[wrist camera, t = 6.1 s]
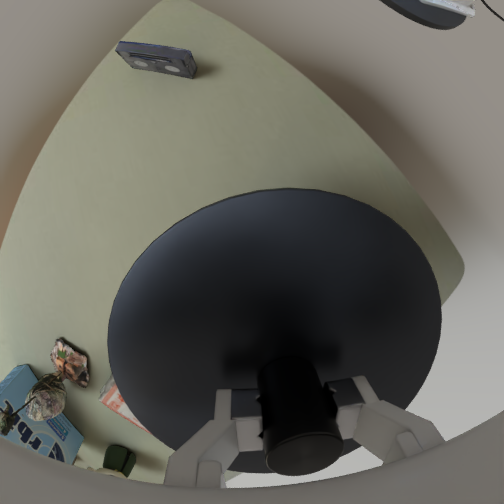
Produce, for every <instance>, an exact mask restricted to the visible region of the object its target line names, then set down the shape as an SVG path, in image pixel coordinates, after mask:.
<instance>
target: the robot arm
mask: <svg viewBox="0 0 504 504" xmlns="http://www.w3.org/2000/svg"><path fill="white" fill-rule="evenodd" d="M419 1H420V2H422V3H424V4H428V5H431V6H435V7H439V8H442V9H446V10H449V11H452V12H455V13H458V14H461V15H464V16H467V17H470V18H472V17H474V15H475V8H474V4H473V2H474V1H475V0H419ZM481 1H482V2H483V4H484V5H485V6H486V7H487V8H488V9H489V10H490V11H491V12H493V13H494V14H495V15H496V16H497V17H499V18H500V19H501V20H503V21H504V19H503V18H502V17H501V16H499V15H498V14H497V13H496V12H495V11H493V10H492V9H491V8H490V7H489V6H488V5H487V4H486V3H485V1H484V0H481ZM323 389H324V392H325V394H326V397H327V400H328V402H329V405H330V407H331V410H332V412H333V415H334V418H335V420H336V423H337V425H338V428H339V431H340V433H341V436H342V438H343V440H344V439H349V438H353V439H354V440H355V441H356V442H358V443H359V444H360V445H362V446H363V447H365V448H366V449H367V450H369V451H370V452H371V453H373V454H374V455H375V456H377V457H378V458H380V459H381V460H382V461H384V462H383V464H382V466H379V467H375V468H372V469H368V470H364V471H361V472H357V473H353V474H349V475H344V476H339V477H334V478H330V479H324V480H318V481H312V482H306V483H298V484H291V485H281V486H271V487H257V488H256V487H255V488H226V484H225V479H224V475H223V474H224V473H225V471H226V470H227V469H228V467H229V466H230V465H231V463H232V462H233V461H234V459H235V458H236V457H237V455H238V454H239V452H243V451H257V450H263V436H262V431H263V423H262V409H261V404H260V390H259V388H254V389H232V390H231V389H217V392H216V403H215V415H214V420H209V421H208V422H207V423H206V424H205V425H204V426H203V427H202V428H201V429H200V430H199V431H198V432H197V433H196V434H194V435H193V436H192V437H191V438H190V439H189V440H188V441H187V442H186V443H184V444H183V445H182V446H181V447H180V448H179V449H178V450H177V451H175V452H174V453H173V454H172V455H171V456H170V457H169V460H168V464H167V469H166V474H165V479H164V484H155V483H148V482H142V481H136V480H130V479H125V478H120V477H115V476H111V475H107V474H102V473H98V472H94V471H91V470H87V469H83V468H80V467H77V466H73V465H70V464H67V463H64V462H61V461H58V460H55V459H52V458H50V457H47V456H44V455H42V454H39V453H37V452H34V451H32V450H29V449H27V448H25V447H22V446H20V445H18V444H16V443H14V442H12V441H10V440H8V439H6V438H4V437H2V436H0V504H504V411H502V412H501V413H499V414H497V415H496V416H494V417H492V418H491V419H489V420H487V421H485V422H484V423H482V424H480V425H478V426H476V427H474V428H472V429H471V430H469V431H467V432H465V433H463V434H461V435H459V436H457V437H455V438H452V439H451V440H448V441H446V442H445V440H444V439H443V437H442V436H441V434H440V433H439V432H438V430H437V429H436V427H435V426H434V425H433V423H432V422H431V421H428V420H426V419H424V418H421V417H419V416H416V415H414V414H412V413H410V412H408V411H405V410H404V409H401V408H399V407H397V406H395V405H393V404H391V403H388V402H386V401H384V400H381V401H380V400H379V399H378V397H377V395H376V394H375V392H374V391H373V389H372V387H371V386H370V384H369V382H368V381H367V379H366V378H365V376H363V375H360V376H355V377H350V378H346V379H340V380H334V381H327V382H325V383H324V386H323Z"/></svg>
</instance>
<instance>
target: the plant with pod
mask: <svg viewBox="0 0 504 504" xmlns="http://www.w3.org/2000/svg"><path fill="white" fill-rule="evenodd" d="M51 352H52V353H51V355H50V356H51V357H50V358H52V359H51V360H52V362H53V363H54V367H55V370H56V373H52V374H46V375H44V376H42V377H41V379H40V380H39V381H38V382H37V383H35V385H34V386H33V387H32V389H30V390H29V392H28V393H27V397H26V400H25V405H23V406H22V407H21V408H19V409H18V410H17V411H16V412H14V413H13V414H12V415H9V412H8V410H9V404H7V409H6V411H4V412H0V434H1V435H4V436H7V434H8V433H9V431H10V429H11V428H12V426H13V424H14V422H15V417H16V416H17V413H18V412H19V411H20V410H22V409H23V408H24V407H25V408H26V415H27V416H28V418H30V419H32V420H34V421H42V420H48V419H51V418H54V417H55V416H57V415H58V414H61V412H62V411H63V409H64V407H65V402H66V395H67V393H66V390H65V386H64V384H63V383H62V381H64V379H65V377H66V378H67V379H69V380H71V381H72V382H74V383H77V384H78V385H79V386H81V387H83V388H84V387H85V388H86V387H87V386H86V384H87V382H89V379H90V378H89V375H88V373H87V372H86V371H87V370H88V369H87V367H86V365H87V364H86V362H87V361H86V360H87V358H86V357H85V356H84V354H83V356H82V354H81V353H78V352H77V351H75V354H74V349H73V350H72V348H69V345H67V344H65V343H63V341H62V339H57V341H56V344H55V346H54V348H53V350H52V351H51ZM22 415H23V414H22ZM23 417H24V415H23Z"/></svg>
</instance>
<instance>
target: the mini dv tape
mask: <svg viewBox="0 0 504 504" xmlns="http://www.w3.org/2000/svg"><path fill="white" fill-rule="evenodd" d="M115 51H116V52H117V53H118V54H119V55H120V56H121V57H122V58H123V59H124V60H125V61H126V62H127V63H128V64H129V65H130V66H131V67H132V68H135V69H142V70H148V71H154V72H160V73H165V74H171V75H176V76H181V77H185V78H190V79H193V77H194V74H195V72H196V70H197V66H196V64H195V61H194V58H193V56H192V53H191V51H189V50H185V49H180V48H174V47H168V46H161V45H153V44H145V43H136V42H125V41H120V42H119V43H118V45H117V47H116V49H115Z"/></svg>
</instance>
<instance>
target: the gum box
mask: <svg viewBox="0 0 504 504" xmlns="http://www.w3.org/2000/svg"><path fill="white" fill-rule="evenodd" d="M37 382H38V380H37V378H36V377H35V375H34V374H33V372H32V371H31V369H30V368H29V366H28V365H27V364H26V365H22V366H18V367H15V368H14V369H13V370H12V371H11V372H10V373H9V374H8V375H7V377H6V378H5V379H4V380H3V381H2V382H1V383H0V412H4V411H6V409H7V404H9V410H8V412H9V415H12V414H13V413H14V412H16V411H17V410H18V409H19V408H21V407H22V406H23V405H25V400H26V397H27V393H28V392H29V390H30V389H32V387H33V386H34V385H35V383H37ZM22 414H23V415H24V417H23V415H22ZM0 436H2V437H4V438H6V439H8V440H10V441H12V442H14V443H16V444H18V445H20V446H22V447H25V448H27V449H29V450H32V451H34V452H37V453H39V454H42V455H44V456H47V457H50V458H52V459H55V460H58V461H61V462H64V463H67V464H70V465H72V463H73V461H74V459H75V457H76V454H77V452H78V450H79V448H80V446H81V444H82V442H83V439H84V437H83V436H82V435H81V434H80V433H79V432H78V431H77V430H76V428H75V427H74V426H73V425H72V424H71V423H70V421H69V420H68V419H67V418H66V417H65V415H64V414H63V413H62V412H61V414H58V415H57V416H55V417H54V418H51V419H48V420H42V421H34V420H32V419H30V418H28V416H27V415H26V408H25V407H24V408H23V409H22V410H20V411H19V412H18V413H17V416H16V417H15V422H14V424H13V426H12V428H11V429H10V431H9V433H8V434H7V436H4V435H1V434H0Z"/></svg>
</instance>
